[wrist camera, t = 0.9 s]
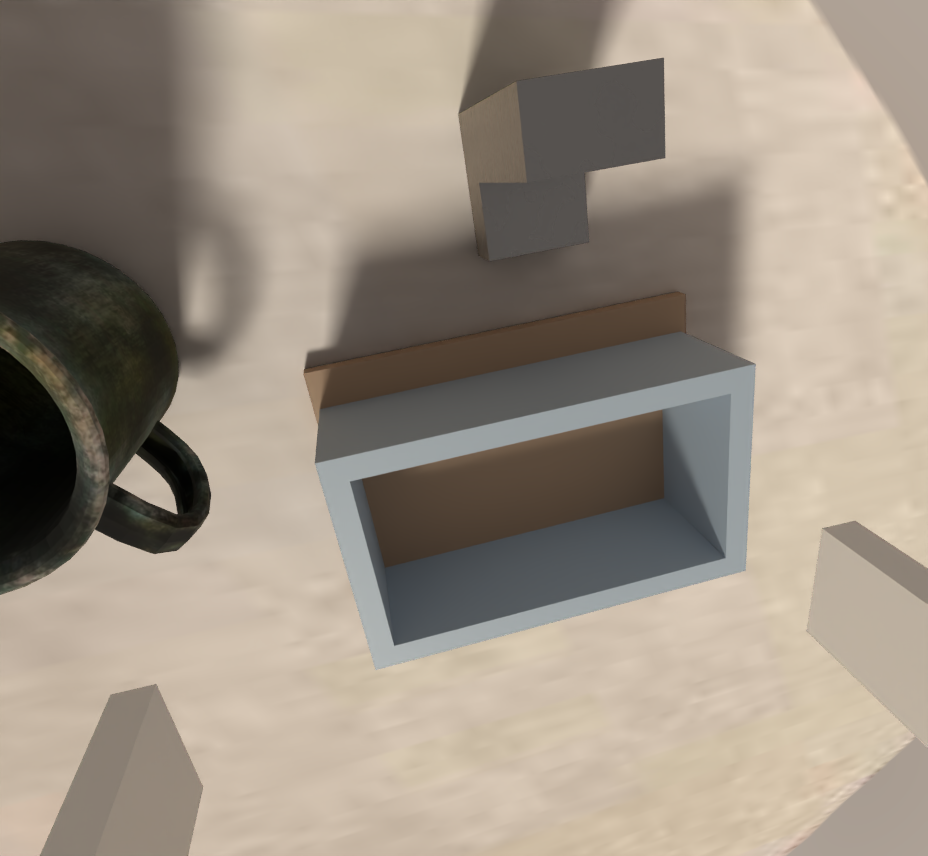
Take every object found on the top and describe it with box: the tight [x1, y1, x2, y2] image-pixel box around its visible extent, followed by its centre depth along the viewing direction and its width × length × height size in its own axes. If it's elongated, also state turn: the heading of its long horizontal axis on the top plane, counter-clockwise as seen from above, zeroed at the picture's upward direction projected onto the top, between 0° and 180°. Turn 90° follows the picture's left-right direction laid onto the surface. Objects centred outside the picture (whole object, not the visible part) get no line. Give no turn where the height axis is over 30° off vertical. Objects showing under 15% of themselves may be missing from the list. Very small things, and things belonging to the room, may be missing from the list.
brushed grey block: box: [458, 58, 665, 261], centre depth 25 cm, size 6×5×10 cm
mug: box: [0, 240, 211, 595], centre depth 24 cm, size 11×15×12 cm
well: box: [304, 292, 756, 670], centre depth 32 cm, size 16×21×7 cm
